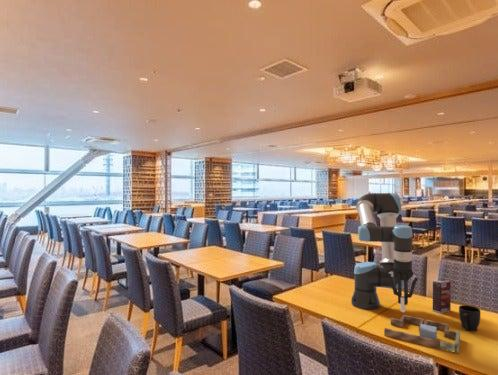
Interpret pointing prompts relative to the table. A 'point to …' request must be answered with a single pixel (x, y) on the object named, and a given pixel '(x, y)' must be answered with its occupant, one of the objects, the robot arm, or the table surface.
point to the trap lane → (424, 340)
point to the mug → (469, 317)
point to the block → (428, 331)
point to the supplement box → (441, 296)
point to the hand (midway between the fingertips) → (402, 310)
